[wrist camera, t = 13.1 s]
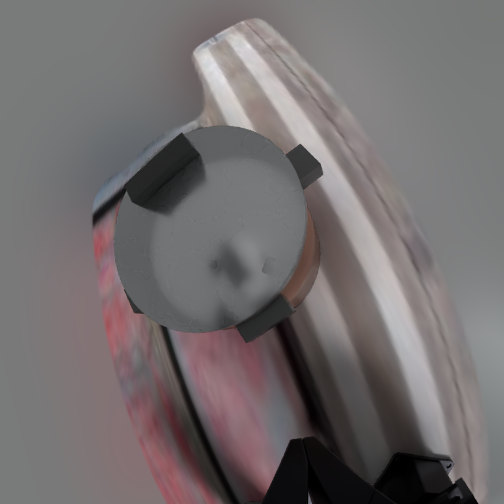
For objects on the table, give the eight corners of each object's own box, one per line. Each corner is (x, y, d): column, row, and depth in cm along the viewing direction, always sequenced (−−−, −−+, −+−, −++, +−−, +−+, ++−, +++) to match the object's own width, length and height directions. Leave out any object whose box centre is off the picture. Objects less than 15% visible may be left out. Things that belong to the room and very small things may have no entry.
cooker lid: (355, 240, 14) (358, 229, 12) (175, 369, 15) (155, 375, 13) (230, 104, 18) (219, 87, 16) (104, 216, 19) (86, 209, 18)
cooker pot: (375, 262, 21) (389, 235, 13) (220, 371, 23) (166, 392, 15) (280, 153, 25) (253, 97, 18) (156, 255, 27) (97, 235, 20)
